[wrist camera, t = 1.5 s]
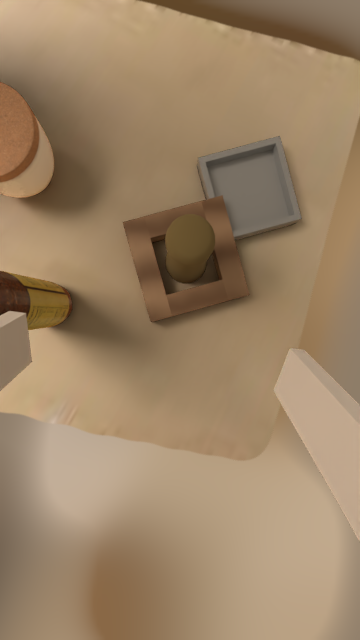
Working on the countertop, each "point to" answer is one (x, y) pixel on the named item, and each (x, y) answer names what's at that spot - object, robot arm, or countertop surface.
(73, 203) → the countertop surface
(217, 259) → the socket block
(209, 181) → the tray
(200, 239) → the olive brown bulbous peg
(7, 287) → the sauce bottle
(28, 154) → the lidded jar
